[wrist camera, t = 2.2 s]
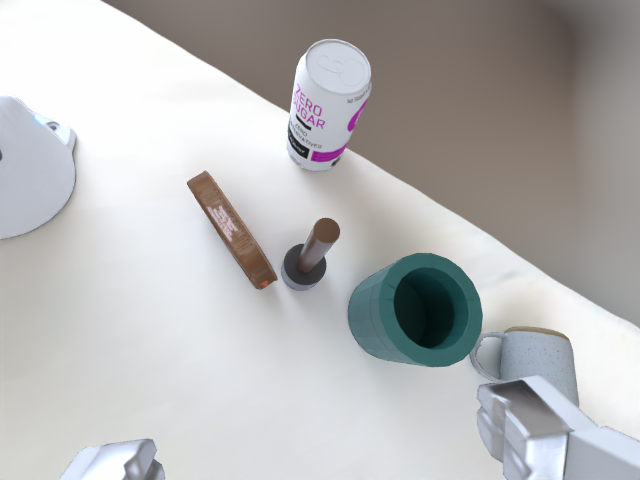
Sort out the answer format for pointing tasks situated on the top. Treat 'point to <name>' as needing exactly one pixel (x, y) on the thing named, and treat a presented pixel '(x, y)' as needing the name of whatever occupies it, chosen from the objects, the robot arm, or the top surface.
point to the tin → (232, 230)
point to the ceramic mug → (534, 358)
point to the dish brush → (310, 256)
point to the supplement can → (326, 103)
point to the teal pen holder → (417, 312)
